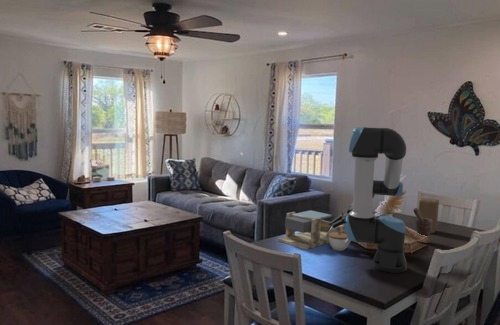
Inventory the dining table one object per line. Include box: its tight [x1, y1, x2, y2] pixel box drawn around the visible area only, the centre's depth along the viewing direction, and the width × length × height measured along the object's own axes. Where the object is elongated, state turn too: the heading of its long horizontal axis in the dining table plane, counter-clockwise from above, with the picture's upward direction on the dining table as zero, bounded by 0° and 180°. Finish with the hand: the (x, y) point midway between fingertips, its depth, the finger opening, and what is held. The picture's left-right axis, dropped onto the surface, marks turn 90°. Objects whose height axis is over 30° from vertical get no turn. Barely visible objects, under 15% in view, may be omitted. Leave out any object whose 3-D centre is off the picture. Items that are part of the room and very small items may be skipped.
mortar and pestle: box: [412, 207, 433, 242], centre depth 231 cm, size 12×9×20 cm
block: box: [417, 198, 440, 234], centre depth 257 cm, size 10×10×20 cm
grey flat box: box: [284, 209, 333, 233], centre depth 229 cm, size 24×16×7 cm, turn 133°
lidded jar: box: [329, 232, 349, 252], centre depth 216 cm, size 11×11×9 cm
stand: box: [277, 211, 346, 251], centre depth 232 cm, size 35×20×15 cm, turn 133°
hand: (336, 240), depth 215 cm, fingers open, 13 cm apart
